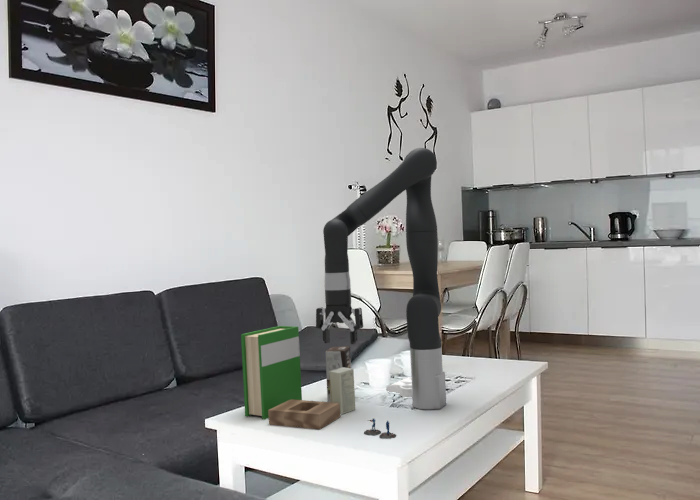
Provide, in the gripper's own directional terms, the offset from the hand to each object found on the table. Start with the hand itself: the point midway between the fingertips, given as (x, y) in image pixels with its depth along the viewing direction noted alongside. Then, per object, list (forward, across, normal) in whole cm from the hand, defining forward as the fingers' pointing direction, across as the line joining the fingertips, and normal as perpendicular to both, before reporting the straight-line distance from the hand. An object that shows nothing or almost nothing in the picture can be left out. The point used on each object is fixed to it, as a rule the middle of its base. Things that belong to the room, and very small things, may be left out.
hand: (340, 343), depth 182 cm
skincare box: (+20, 0, 0) cm, 20 cm away
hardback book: (+20, +20, +5) cm, 29 cm away
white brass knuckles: (+20, -12, -28) cm, 37 cm away
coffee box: (+20, +7, -12) cm, 24 cm away
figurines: (+20, -19, +17) cm, 33 cm away
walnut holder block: (+20, +6, +12) cm, 24 cm away
